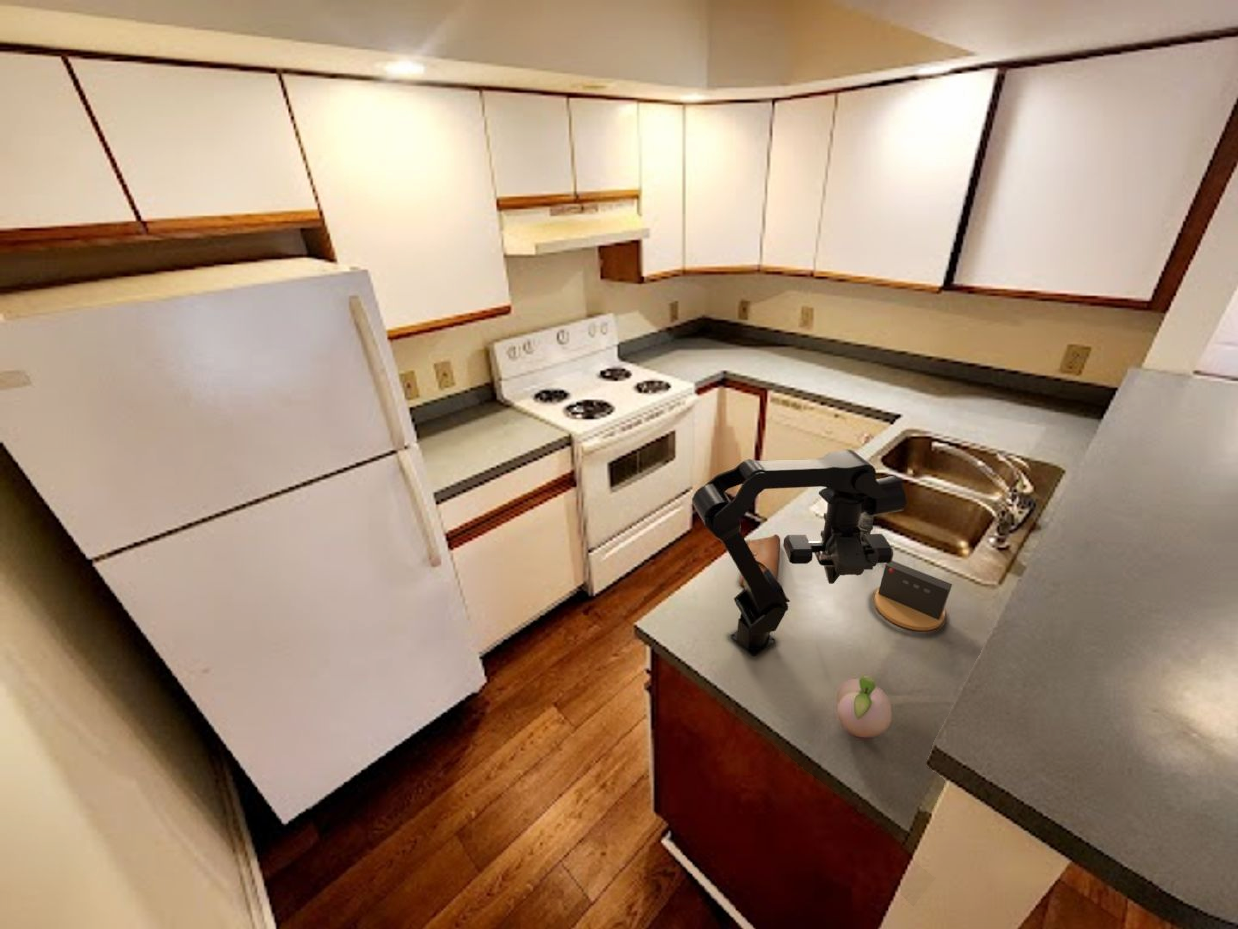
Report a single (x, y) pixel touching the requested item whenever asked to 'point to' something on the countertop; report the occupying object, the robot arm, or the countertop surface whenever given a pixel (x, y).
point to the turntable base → (904, 627)
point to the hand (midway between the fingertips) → (830, 582)
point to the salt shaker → (866, 523)
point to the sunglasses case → (766, 554)
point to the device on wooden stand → (911, 597)
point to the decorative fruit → (863, 707)
